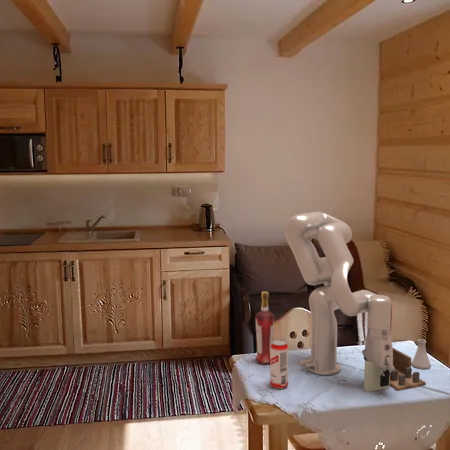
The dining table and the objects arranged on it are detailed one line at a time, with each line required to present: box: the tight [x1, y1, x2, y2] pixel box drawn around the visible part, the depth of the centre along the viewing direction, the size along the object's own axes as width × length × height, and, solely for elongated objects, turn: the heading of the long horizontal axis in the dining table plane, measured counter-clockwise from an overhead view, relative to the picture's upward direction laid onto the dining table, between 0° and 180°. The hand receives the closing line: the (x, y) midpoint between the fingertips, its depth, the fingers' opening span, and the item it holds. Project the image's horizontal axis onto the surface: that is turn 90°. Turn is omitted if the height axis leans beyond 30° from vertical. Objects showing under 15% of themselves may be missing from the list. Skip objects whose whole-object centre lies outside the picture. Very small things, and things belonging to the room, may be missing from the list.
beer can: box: [269, 339, 289, 390], centre depth 178 cm, size 6×6×16 cm
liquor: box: [254, 291, 275, 365], centre depth 198 cm, size 7×7×28 cm
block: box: [363, 361, 390, 393], centre depth 175 cm, size 9×3×10 cm, turn 110°
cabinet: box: [389, 346, 427, 392], centre depth 184 cm, size 12×18×8 cm, turn 20°
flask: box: [411, 338, 432, 370], centre depth 194 cm, size 7×7×10 cm
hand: (377, 380), depth 176 cm, fingers open, 7 cm apart
